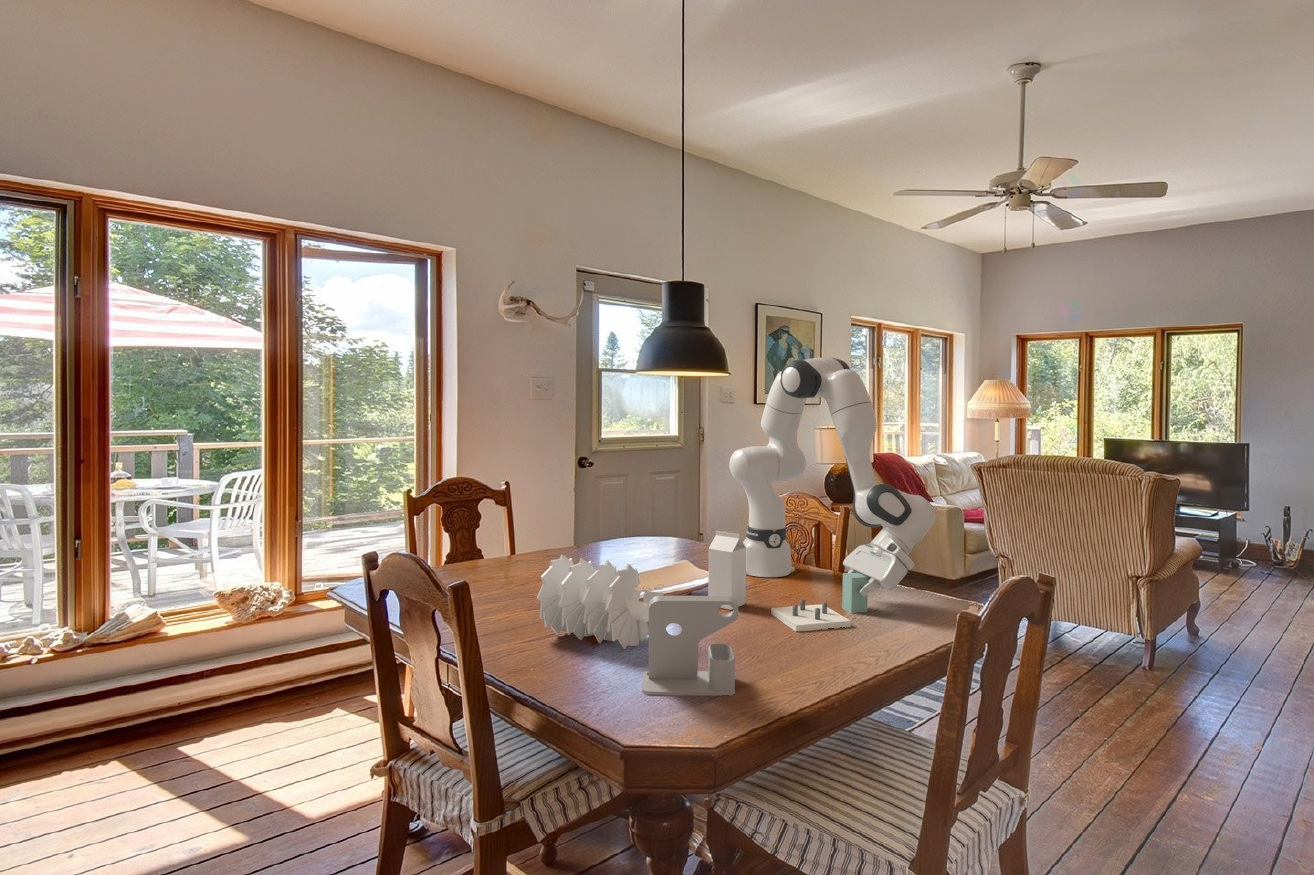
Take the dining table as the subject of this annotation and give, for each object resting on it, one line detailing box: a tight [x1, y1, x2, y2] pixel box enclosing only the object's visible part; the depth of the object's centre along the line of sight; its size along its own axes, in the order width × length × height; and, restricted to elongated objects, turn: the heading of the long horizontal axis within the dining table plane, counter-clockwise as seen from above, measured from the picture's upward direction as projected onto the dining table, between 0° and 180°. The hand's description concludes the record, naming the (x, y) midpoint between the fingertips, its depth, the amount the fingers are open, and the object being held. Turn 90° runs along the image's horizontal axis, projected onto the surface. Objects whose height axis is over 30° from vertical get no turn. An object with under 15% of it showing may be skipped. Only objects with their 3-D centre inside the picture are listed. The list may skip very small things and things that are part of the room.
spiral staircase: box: [536, 553, 664, 650], centre depth 161 cm, size 18×18×25 cm
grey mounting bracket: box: [641, 595, 739, 696], centre depth 136 cm, size 17×10×18 cm, turn 90°
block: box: [841, 572, 869, 614], centre depth 184 cm, size 4×4×9 cm
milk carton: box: [707, 530, 747, 611], centre depth 188 cm, size 7×7×19 cm
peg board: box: [770, 598, 852, 632], centre depth 176 cm, size 14×14×4 cm
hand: (852, 590), depth 184 cm, fingers open, 6 cm apart
